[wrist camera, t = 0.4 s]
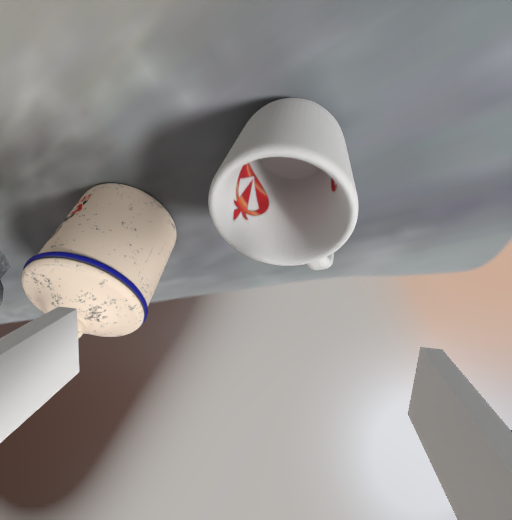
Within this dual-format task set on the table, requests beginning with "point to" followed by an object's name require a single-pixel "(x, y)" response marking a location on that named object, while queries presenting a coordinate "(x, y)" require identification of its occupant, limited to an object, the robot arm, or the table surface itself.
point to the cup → (286, 187)
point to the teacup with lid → (104, 260)
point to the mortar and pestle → (2, 272)
